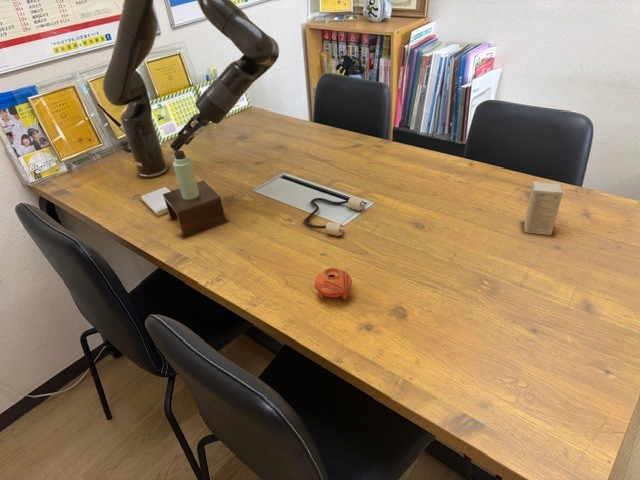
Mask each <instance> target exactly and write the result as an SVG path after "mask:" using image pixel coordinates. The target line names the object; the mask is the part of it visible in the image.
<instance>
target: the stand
mask: <svg viewBox="0 0 640 480" xmlns="http://www.w3.org/2000/svg"><path fill="white" fill-rule="evenodd" d="M196 182H197V186H198V189H199V193H200V194H199V196H198V197H197V198H195V199H191V200H185V199H183V198H182V194H181V191H180V188H177V189H174V190H170V191H171V192H168V193H165V194H163V197H164V200H165V203H166V206H167V209H168V212H167V213H168V216H169V219H170V220H171V221H173V220H176V219H177V220H178V223H179V227H180V230H181V233H182V236H183V238H189V237H190V236H194V235H196V234H199V233H200V232H203V231H206V230H208V229H211V228H213V227H216V226H219V225H221V224H224V223H226V222H227V220H226V215H225V211H224V206H223V203H222V198H221V196H220V195H219V194H218V193H217V192H216V190H214V189H213V188H212V187H211V186H210V185H209V184H208V183H207V182H206V181H205V180H200V181H196Z"/></svg>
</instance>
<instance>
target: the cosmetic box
mask: <svg viewBox="0 0 640 480" xmlns="http://www.w3.org/2000/svg"><path fill="white" fill-rule="evenodd" d="M531 187H532V188H531V191H530V194H529V195H530V196H529V200H528V205H527V209H526V214H525V219H524V222H523V223H524V224H523V225H524V228H523V229H524V233H529V234H538V235H547V236H548V235H549V236H552V235H553V231H554V227H555V224H556V219H557V216H558V212H559V208H560V205H561V202H562V201H561V200H562V197H563V194H564V190H563V185H562V183H560V182H548V181H547V182H546V181H533V182H532V186H531Z"/></svg>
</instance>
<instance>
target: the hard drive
mask: <svg viewBox="0 0 640 480" xmlns="http://www.w3.org/2000/svg"><path fill="white" fill-rule="evenodd" d="M171 191H172V190H170V189H169V188H168V187H167V186H163V187H161V188H159V189H156V190H153V191H150V192H148V193H146V194H143V195H141V196H140V199H141V201H142V202H144V203H145V205H146V206H147V207H148V208H150V209H151V211H152V212H153V213H154V214H155V215H157V217H159V216H163V215H164V214H167V213H168V209H167V206H166V203H165V200H164V197H163V194H165V193H168V192H171Z"/></svg>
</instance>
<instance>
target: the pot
mask: <svg viewBox="0 0 640 480" xmlns="http://www.w3.org/2000/svg"><path fill="white" fill-rule="evenodd" d="M352 284H353V280H352V277H351V274H349V273H348V272H346V271H345V270H343V269H339V268H338V267H329V268H327V269H325V270H323V271H321V272H320V273H319V274H317V276H316V277H315V279H314V287H315V290H317V292H318V295H319V297H320V298H321V299H323V298H324V296H325V297H328V298H338V297H340V296H341V297H342V299H343V300H344V301H345V300H346V299H347V297H348V291H350V289H351V287H352Z"/></svg>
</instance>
